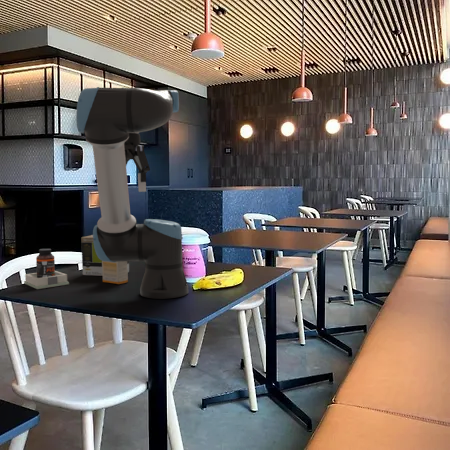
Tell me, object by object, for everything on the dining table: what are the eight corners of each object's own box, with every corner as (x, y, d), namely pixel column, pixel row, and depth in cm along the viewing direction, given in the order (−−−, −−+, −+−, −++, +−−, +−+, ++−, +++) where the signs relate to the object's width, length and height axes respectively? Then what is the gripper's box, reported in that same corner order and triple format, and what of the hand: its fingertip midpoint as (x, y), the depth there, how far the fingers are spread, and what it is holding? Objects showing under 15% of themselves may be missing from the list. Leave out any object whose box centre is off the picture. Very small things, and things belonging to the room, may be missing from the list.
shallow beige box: (68, 284, 171) (68, 274, 171) (37, 289, 164) (36, 279, 164) (54, 278, 180) (54, 270, 180) (24, 283, 173) (23, 274, 173)
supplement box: (128, 282, 174) (127, 245, 173) (118, 284, 170) (117, 247, 169) (112, 279, 178) (111, 243, 177) (101, 282, 174) (100, 245, 173)
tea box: (129, 272, 192) (128, 234, 191) (118, 277, 183) (117, 237, 181) (95, 270, 196) (93, 233, 195) (81, 275, 186) (80, 236, 185)
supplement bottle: (49, 283, 168) (47, 250, 167) (33, 283, 170) (32, 250, 169) (58, 280, 174) (57, 248, 173) (43, 279, 176) (42, 247, 174)
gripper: (158, 130, 174) (160, 191, 175) (119, 137, 191) (121, 192, 193) (141, 129, 168) (142, 191, 170) (102, 136, 186) (104, 192, 187)
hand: (131, 192), depth 181 cm, fingers open, 13 cm apart
